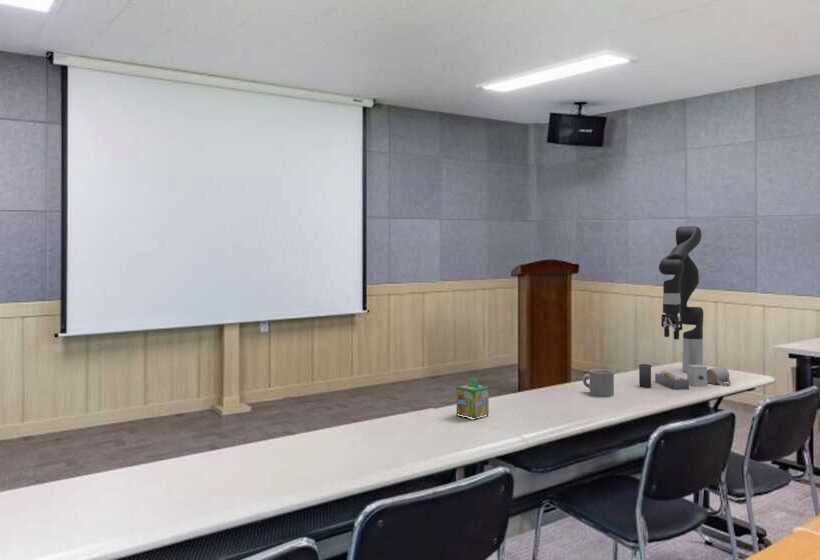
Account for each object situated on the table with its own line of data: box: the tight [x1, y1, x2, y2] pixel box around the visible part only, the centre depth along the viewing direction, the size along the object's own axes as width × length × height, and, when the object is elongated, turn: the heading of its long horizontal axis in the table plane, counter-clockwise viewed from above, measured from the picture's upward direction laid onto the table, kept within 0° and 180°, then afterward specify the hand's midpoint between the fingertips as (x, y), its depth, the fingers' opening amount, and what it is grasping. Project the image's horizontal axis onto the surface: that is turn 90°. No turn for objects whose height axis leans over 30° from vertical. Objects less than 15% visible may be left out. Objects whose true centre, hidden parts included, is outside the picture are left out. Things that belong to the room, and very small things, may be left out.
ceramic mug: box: [707, 365, 731, 386], centre depth 291 cm, size 11×8×8 cm
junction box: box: [686, 364, 708, 387], centre depth 290 cm, size 7×6×9 cm
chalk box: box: [456, 376, 490, 418], centre depth 241 cm, size 9×9×15 cm
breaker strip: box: [654, 370, 690, 391], centre depth 289 cm, size 17×7×6 cm, turn 6°
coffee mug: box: [582, 368, 615, 398], centre depth 276 cm, size 13×10×10 cm
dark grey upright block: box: [638, 363, 652, 389], centre depth 287 cm, size 5×5×10 cm
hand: (671, 338), depth 289 cm, fingers open, 8 cm apart
